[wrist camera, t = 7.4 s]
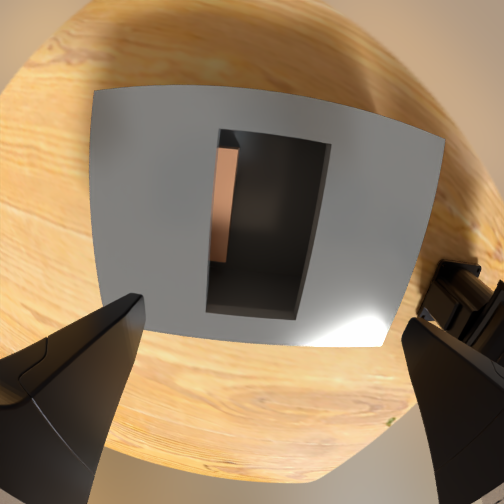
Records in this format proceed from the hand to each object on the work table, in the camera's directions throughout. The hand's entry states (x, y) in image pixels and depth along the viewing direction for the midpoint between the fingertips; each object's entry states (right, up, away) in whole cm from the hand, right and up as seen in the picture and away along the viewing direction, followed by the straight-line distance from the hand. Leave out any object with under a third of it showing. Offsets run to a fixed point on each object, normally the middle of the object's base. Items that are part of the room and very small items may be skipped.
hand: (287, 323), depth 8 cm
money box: (-1, +6, +10) cm, 12 cm away
